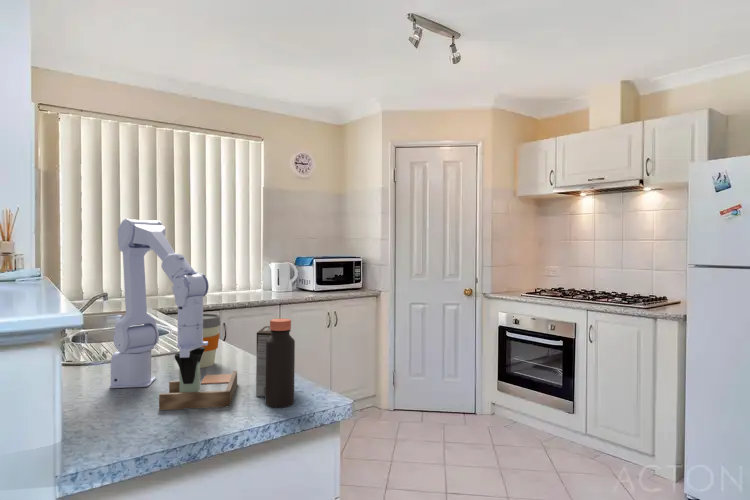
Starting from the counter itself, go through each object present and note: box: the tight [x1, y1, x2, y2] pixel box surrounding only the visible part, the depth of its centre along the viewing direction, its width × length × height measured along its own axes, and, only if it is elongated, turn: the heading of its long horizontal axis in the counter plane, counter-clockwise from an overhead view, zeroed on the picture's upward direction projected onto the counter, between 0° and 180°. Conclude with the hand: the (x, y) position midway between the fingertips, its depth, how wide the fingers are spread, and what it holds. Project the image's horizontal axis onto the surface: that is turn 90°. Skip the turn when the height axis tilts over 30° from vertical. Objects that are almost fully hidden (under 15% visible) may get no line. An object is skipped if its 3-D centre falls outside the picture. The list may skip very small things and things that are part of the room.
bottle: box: [264, 318, 296, 409], centre depth 116 cm, size 7×7×20 cm
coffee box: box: [255, 325, 271, 397], centre depth 125 cm, size 9×6×16 cm
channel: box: [158, 370, 238, 411], centre depth 121 cm, size 16×18×4 cm
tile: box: [200, 373, 232, 385], centre depth 135 cm, size 8×8×1 cm
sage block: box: [179, 362, 201, 393], centre depth 117 cm, size 4×4×7 cm
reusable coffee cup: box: [200, 313, 221, 369], centre depth 152 cm, size 13×13×15 cm
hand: (190, 380), depth 117 cm, fingers closed on sage block, 4 cm apart
